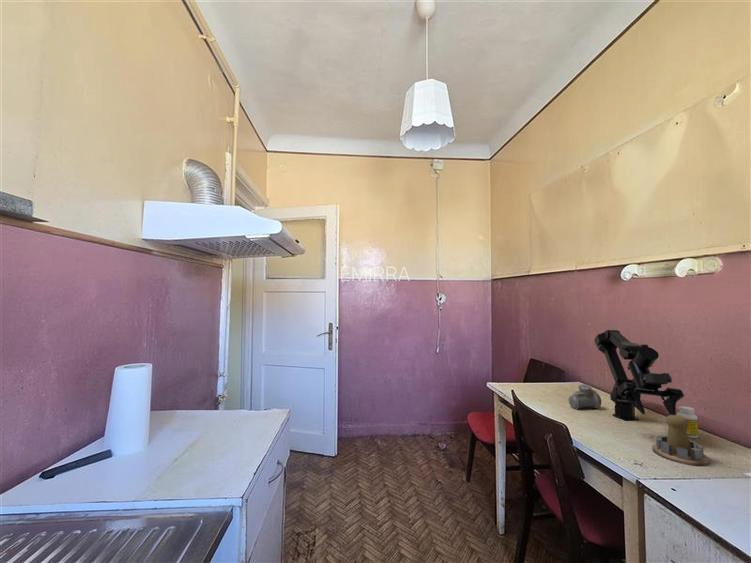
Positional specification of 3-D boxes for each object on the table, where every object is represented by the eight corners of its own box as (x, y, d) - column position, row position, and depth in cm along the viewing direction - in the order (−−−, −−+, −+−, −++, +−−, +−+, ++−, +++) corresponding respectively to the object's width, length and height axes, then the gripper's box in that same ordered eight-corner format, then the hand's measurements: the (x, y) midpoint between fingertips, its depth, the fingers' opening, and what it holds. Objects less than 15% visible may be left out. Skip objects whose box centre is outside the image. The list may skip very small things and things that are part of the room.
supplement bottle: (693, 439, 115) (691, 411, 116) (674, 433, 120) (673, 406, 121) (701, 436, 117) (700, 409, 118) (683, 431, 122) (681, 404, 123)
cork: (697, 456, 100) (695, 419, 101) (676, 456, 101) (674, 419, 101) (680, 447, 106) (678, 413, 107) (660, 447, 107) (659, 412, 107)
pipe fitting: (588, 403, 154) (587, 381, 154) (602, 410, 146) (601, 387, 146) (565, 407, 152) (564, 385, 152) (579, 414, 144) (577, 392, 144)
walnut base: (673, 444, 111) (673, 441, 111) (720, 463, 98) (720, 460, 98) (641, 447, 109) (641, 444, 109) (685, 467, 96) (685, 464, 96)
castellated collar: (674, 443, 110) (674, 434, 110) (713, 458, 99) (712, 448, 99) (647, 445, 108) (647, 436, 108) (684, 461, 97) (683, 451, 97)
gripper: (624, 360, 119) (640, 401, 108) (683, 366, 116) (705, 409, 105) (610, 375, 127) (624, 415, 116) (665, 381, 124) (684, 423, 113)
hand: (658, 415), depth 112 cm, fingers open, 9 cm apart
